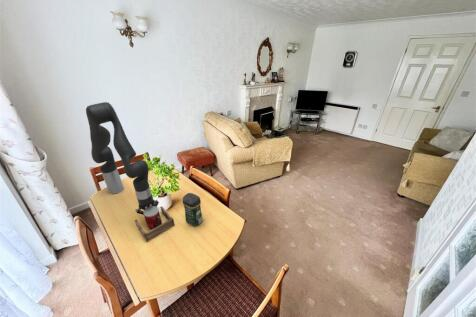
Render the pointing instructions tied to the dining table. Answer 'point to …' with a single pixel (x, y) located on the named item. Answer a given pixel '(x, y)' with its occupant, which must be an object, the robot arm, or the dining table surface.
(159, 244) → the dining table surface
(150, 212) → the canned food
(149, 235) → the corral
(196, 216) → the coffee jar
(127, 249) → the dining table surface
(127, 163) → the robot arm
